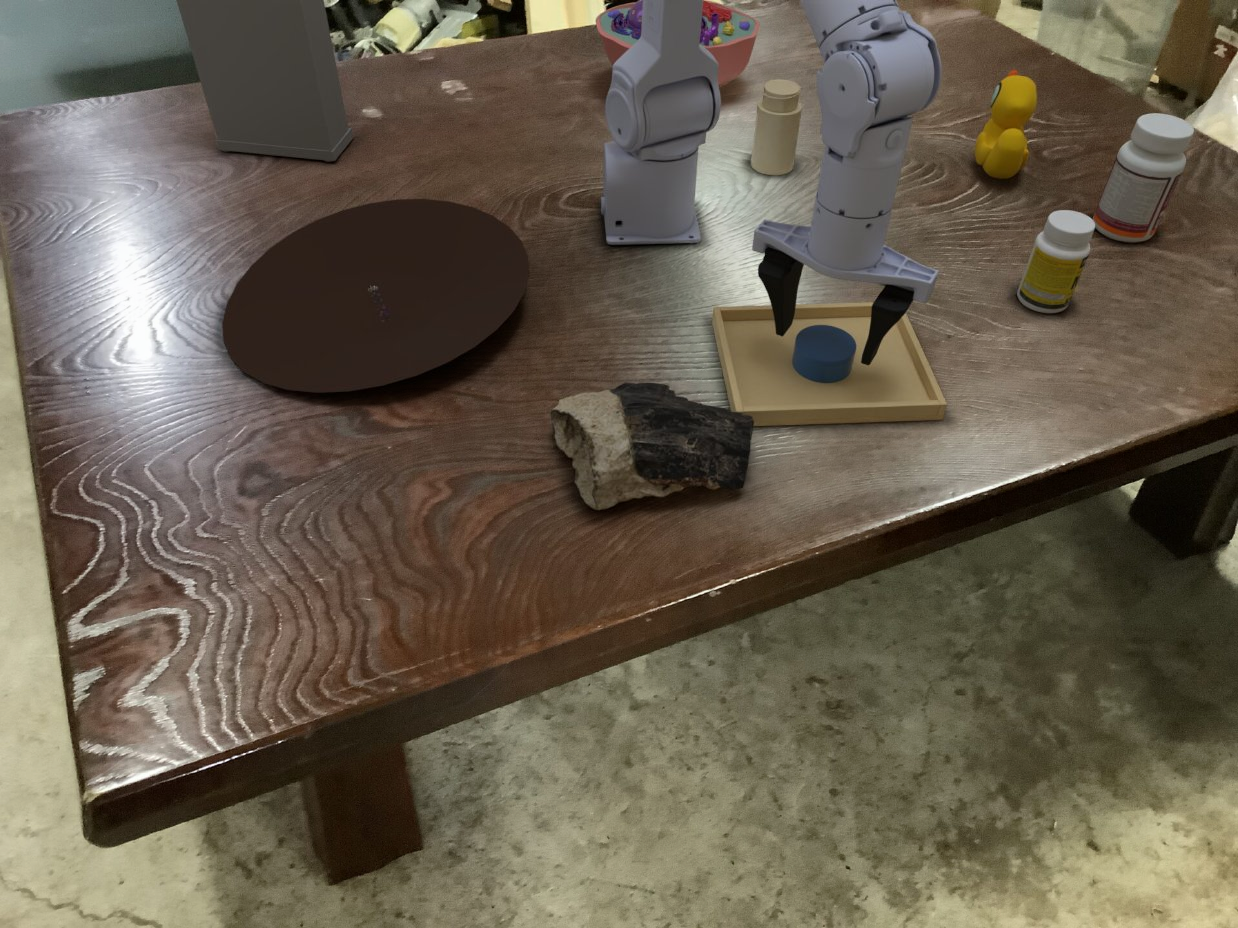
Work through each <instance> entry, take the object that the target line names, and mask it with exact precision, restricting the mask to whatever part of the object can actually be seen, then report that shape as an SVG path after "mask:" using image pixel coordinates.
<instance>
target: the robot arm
mask: <svg viewBox="0 0 1238 928" xmlns="http://www.w3.org/2000/svg"><path fill="white" fill-rule="evenodd" d="M799 3H800V4H801V7H802V10H803V12H804V15H805V17H806V20H807V23H808V25H809V27H810V30H811V32H812V35H813V38H814V40H815V42H816V45H817V48H818V50H819V52H820V55H821V58H822V60H823V63H824V65H823V68H822V69H821V70H818V71H817V73H816V93H817V94H816V95H817V98H818V102H819V105H820V110H821V125H820V131H819V134H821V141H822V143H823V144H824V149H823V154H822V160H821V165H820V172H819V178H818V183H817V189H816V194H815V200H814V204H813V205H814V207H813V212H812V217H811V223H810V225H804V224H792V223H785V222H777V221H772V220H769V219H763V220H762V221H761V222H760V223H759V224H758V226H757V227H756V228H755V229H754V232H753V240H752V246H751V247H752V248H751V250H752V251H753V252H755V253H759V254H764V255H763V257H762V260H761V262H760V263H759V264H758V266H757V276H758V278H759V279H760V281H761V282H762V285H763V286H764V288H765V291H766V293H767V296H768V299H769V301H770V305H771V306H772V310H773V315H774V321H775V329H776V335H779V336H782V337H783V336H784V334H785V333H786V332H787V330H788V329H789V328H790V326H791V325H792V322H793V319H794V314H795V308H796V304H797V300H798V299H797V298H798V289H799V287H800V281H801V276H802V273H803V268H804V266H806V267H808V268H809V269H812V270H813V271H815V272H817V273H818V274H820V275H823V276H825V277H829V278H831V279H836V280H841V281H851V282H860V283H871V284H875V285H879V286H883V288H882V290H881V291H880V292H879V293H878V295H877V297H876V298H875V300H874V301H873V302H874V303H873V304H872V308H871V322H870V329H869V335H868V339H867V342H866V345H865V348H864V351H863V354H862V359H861V363H862V364H865V365H870V364H871V362H872V360H873V359H874V357H875V356H876V354H877V351H878V349H879V346H880V344H881V342H882V340H883V338H884V336H885V335H886V334H887V333H888V331H889V330H890V329H891V328H892V327H893V326H894V325H895V324H896V323H897V322H898V321H899V320H900V319H901V318H902V317H903V315H904V314H905V313H906V314H907V312H908V310H909V308H910V307H911V305H912V303H913V302H914V301H915V302H918V303H921V304H923V305H926V304H927V302H928V301H929V300H930V298H931V296H932V294H933V293H934V290H935V286H936V282H937V279H938V276H939V272H940V271H939V270H938V269H934V268H932V267H929V266H927V265H923V264H921V263H920V262H917V261H915V260H914V259H912V258H910V257H909V256H906V255H904V254H902V253H901V252H899V251H897V250H895V249H893V248H891V247H890V246H888V245H885V242H886V238H887V232H888V229H889V225H890V221H891V216H892V211H893V207H894V203H895V199H896V194H897V191H898V186H899V182H900V177H901V173H902V169H903V165H904V160H905V156H906V152H907V148H908V143H909V138H910V135H911V130H912V126H913V123H914V122H913V121H914V116H911V115H915V114H916V113H919V112H921V111H923V110H925V109H927V108H928V107H929V106H930V105H931V104H932V103H933V102H934V100H935V99H936V97H937V95H938V93H939V90H940V87H941V83H942V74H943V73H942V71H943V70H942V60H941V56H940V52H939V50H938V44H937V40H936V38H935V36H933V34H932V33H931V31H929V30H928V29H927V28H925V27H924V26H923V25H920V24H918V23H916V22H915V21H914V19H913V18H912V15H911V13H908V12H907V10H901V9H900V7H899V4H898V1H897V0H799ZM702 10H703V0H643V9H642V30H641V37H640V39H639V40H638V41H637V42H636V43H635V44H634V45H633V46H632V47H631V48H629V49H628V50H627V51H626V52H625V53H624V54H623V55H622V56H621V57H620V58H619V59H618V60H617V61H616V62H615V63H614V64H613V66H612V74H611V82H610V87H609V89H608V90H607V91H608V92H607V95H606V98H605V104H604V114H605V121H606V124H607V128H608V131H609V134H610V135H611V137H612V139H613V141H607V142H604V143H603V149H602V150H603V156H602V157H603V159H602V160H603V162H602V163H603V165H602V166H603V167H602V169H603V170H602V172H603V173H602V174H603V175H602V176H603V180H602V183H603V185H602V187H603V188H602V189H603V191H602V193H603V195H602V196H601V197H600V212H601V216H603V218H604V219H603V220H604V228H605V240H606V241H605V242H606V243H607V244H608V245H610V246H621V245H622V246H623V245H659V244H660V245H661V244H663V245H664V244H665V245H666V244H696V243H700V242H701V241H702V235H701V231H700V227H699V222H698V218H697V213H696V210H695V203H696V189H697V188H696V187H697V174H698V161H699V160H698V159H699V148H700V146H701V145H704V144H706V139H707V133H708V132H711V131H712V130H714V129H715V127H716V126H717V124H718V122H719V119H720V115H721V111H722V110H721V109H722V97H721V91H720V87H719V86H718V68H719V64H718V62H717V61H716V59H715V58H714V56H713V55H712V54H711V53H710V52H709V51H708V50H707V49H706V48H705V47H703V46H702V45H700V44H699V43H700V32H701V21H702Z"/></svg>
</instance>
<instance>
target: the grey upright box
mask: <svg viewBox="0 0 1238 928" xmlns="http://www.w3.org/2000/svg"><path fill="white" fill-rule="evenodd" d="M176 3H177V7H178V11H179V14H180V17H181V20H182V21H181V22H182V24H183V27H184V31H185V33H186V37H187V41H188V44H189V48H190V51H191V54H192V58H193V61H194V64H195V68H196V71H197V74H198V78H199V80H200V81H199V82H200V85H201V89H202V92H203V95H204V99H205V103H206V105H207V108H208V112H209V115H210V119H211V122H212V123H211V124H212V125H213V129H214V133H215V137H216V140H215V142H216V146H217V149H218V151H222V152H225V153H227V152H237V153H238V152H239V153H246V154H247V153H248V154H256V155H257V154H259V155H267V156H268V155H269V156H278V157H287V158H299V159H309V160H318V161H319V160H320V161H324V162H327V163H330V162H336V160H337V159H338V158H339V157H340V155H341V154H342V153H343V151H344V150H345V149H346V148H347V146H348V145H349V144H350V143H351V141H353V139H354V138H355V136H354V131H353V127H349V125H348V124H349V123H348V118H347V113H346V108H345V104H344V98H343V93H342V88H341V83H340V78H339V72H338V67H337V62H336V57H335V52H334V47H333V42H332V37H331V32H330V26H329V21H328V16H327V15H328V14H327V10H326V5H325V1H324V0H176Z"/></svg>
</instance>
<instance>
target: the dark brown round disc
mask: <svg viewBox="0 0 1238 928" xmlns="http://www.w3.org/2000/svg"><path fill="white" fill-rule="evenodd" d="M529 263H530V261H529V255H528V253H527V251H526V248H525V246H524V244H523V242H522V240H521V238H520V237H519V236H518V235H517V234H516V233H515V232H514V230H513V229H511V227H510V226H509V225H507V224H506V223H504V222H503V221H502V220H500V219H498V218H497V217H495V216H494V215H492V214H491V213H488V212H485V211H483V210H481V209H478V208H476V207H473V206H469V205H466V204H461V203H457V202H453V201H449V200H441V199H440V200H438V199H429V198H405V199H404V198H403V199H401V198H400V199H399V198H398V199H397V198H396V199H391V200H384V201H383V200H382V201H376V202H369V203H365V204H361V205H357V206H353V207H349V208H346V209H343V210H339V211H336V212H334V213H331V214H329V215H326V216H323V217H321V218H318V219H315V220H314V221H312V222H311V223H308V224H306V225H304V226H302V227H300V228H299V229H296V230H295V231H292V232H291V233H290V234H288V235H287V236H285V237H284V238H282V239H281V240H280V241H278V242H276V243H275V244H274V245H273V246H271V247H270V248H268V249H267V250H266V251H265V252H264V253H263V254H262V255H261V256H260V257H258V259H257V260H256V261H254V262H253V263H252V264H251V265H250V266H249V267H248V269H247V270H246V271H245V273H244V274H243V275H242V277H241V278H240V279H239V281H238V282H237V283H236V285H235V287H234V289H233V291H232V292H231V295H230V297H229V299H228V300H227V303H226V306H225V309H224V314H223V319H222V322H221V324H222V325H221V326H222V340H223V343H224V346H225V348H226V351H227V353H228V355H229V357H230V359H231V360H232V361H233V362H234V363H235V364H236V366H237V367H238V368H239V369H241V371H242V372H243V373H244V374H247V375H248V376H250V377H252V378H253V379H256V380H257V381H259V382H261V383H262V384H265V385H268V386H273V387H276V388H280V389H284V390H287V391H293V392H294V391H295V392H296V391H297V392H306V393H307V392H308V393H316V394H319V393H320V394H321V393H322V394H323V393H338V392H339V393H340V392H341V393H342V392H353V391H359V390H365V389H370V388H377V387H382V386H386V385H389V384H392V383H397V382H400V381H403V380H406V379H410V378H413V377H417V376H419V375H421V374H422V375H423V373H426V372H429V371H431V370H434V369H436V368H438V367H441V366H443V365H445V364H448V363H449V362H452V361H453V360H455V359H456V358H458V357H459V356H461V355H463V354H465V353H467V352H468V351H470V350H472V349H474V348H476V347H477V346H478V345H479V344H480V343H482V342H483V341H484V340H486V339H487V338H488V337H489V336H491V335H492V334H493V333H495V332H496V331H497V330H498V329H499V328H500V327H501V326H502V325H503V324H504V322H506V320H507V319H508V318H509V317H510V316H511V315H512V314H513V312H514V311H515V310H516V308H517V306H518V305H519V303H520V301H521V300H522V298H523V296H524V295H525V292H526V288H527V286H528V285H527V284H528V281H529V276H530V264H529Z"/></svg>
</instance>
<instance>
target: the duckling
mask: <svg viewBox="0 0 1238 928" xmlns="http://www.w3.org/2000/svg"><path fill="white" fill-rule="evenodd" d="M1038 97H1039V94H1038V88H1037V85H1036V83H1035V81H1033V80H1032V78H1030V77H1029V76H1025V75H1019V72H1018V70H1014V69H1013V70H1011V71H1009V73H1008V74H1007V76H1006V77H1005V78H1003V79H1002V80H1001V81H1000V82H998V84H997V85H996V87H995V89H994V90H993V93H992V96H991V101H990V114H991V117H990V118H989V119H988V120H987V121H986V123H985V125H984V126H983V129H982V131H981V132H980V133H979V134H978V136H977V138H976V141H975V144H974V157H975V161H976V164H978V165H979V166H982V168H983V170H984V172H985V173H986V174H987V175H988V176H989V177H991V178H994V179H1001V180H1005V179H1010V178H1012V177H1014V176H1015V175H1016V174H1017V173H1018V172H1019V171H1020V170H1021V169H1023V168H1024V167H1025V166H1026V164H1028V163H1027V162H1028V160H1029V156H1030V152H1029V149H1028V137H1026V135H1025V127H1024V125H1025V124H1026V123H1028V122H1029V121H1030V119H1031V118H1032V117H1033V115H1034V113H1035V110H1036V109H1037V108H1036V107H1037V104H1038Z"/></svg>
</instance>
